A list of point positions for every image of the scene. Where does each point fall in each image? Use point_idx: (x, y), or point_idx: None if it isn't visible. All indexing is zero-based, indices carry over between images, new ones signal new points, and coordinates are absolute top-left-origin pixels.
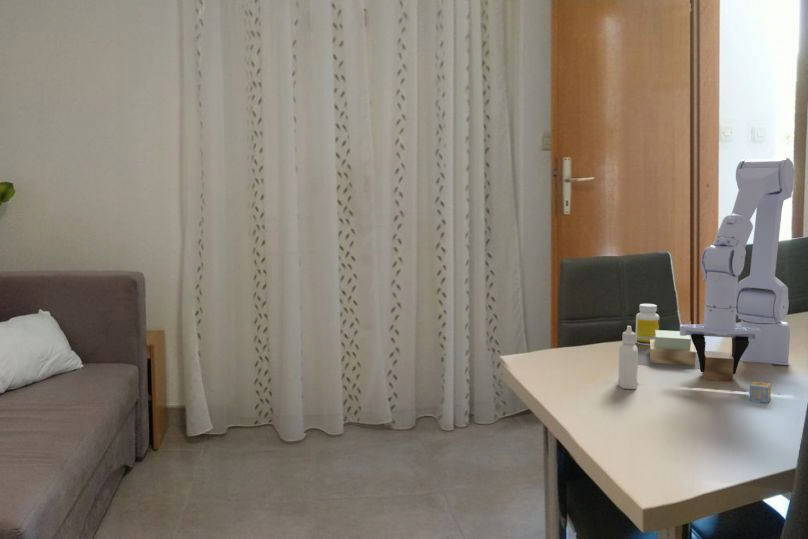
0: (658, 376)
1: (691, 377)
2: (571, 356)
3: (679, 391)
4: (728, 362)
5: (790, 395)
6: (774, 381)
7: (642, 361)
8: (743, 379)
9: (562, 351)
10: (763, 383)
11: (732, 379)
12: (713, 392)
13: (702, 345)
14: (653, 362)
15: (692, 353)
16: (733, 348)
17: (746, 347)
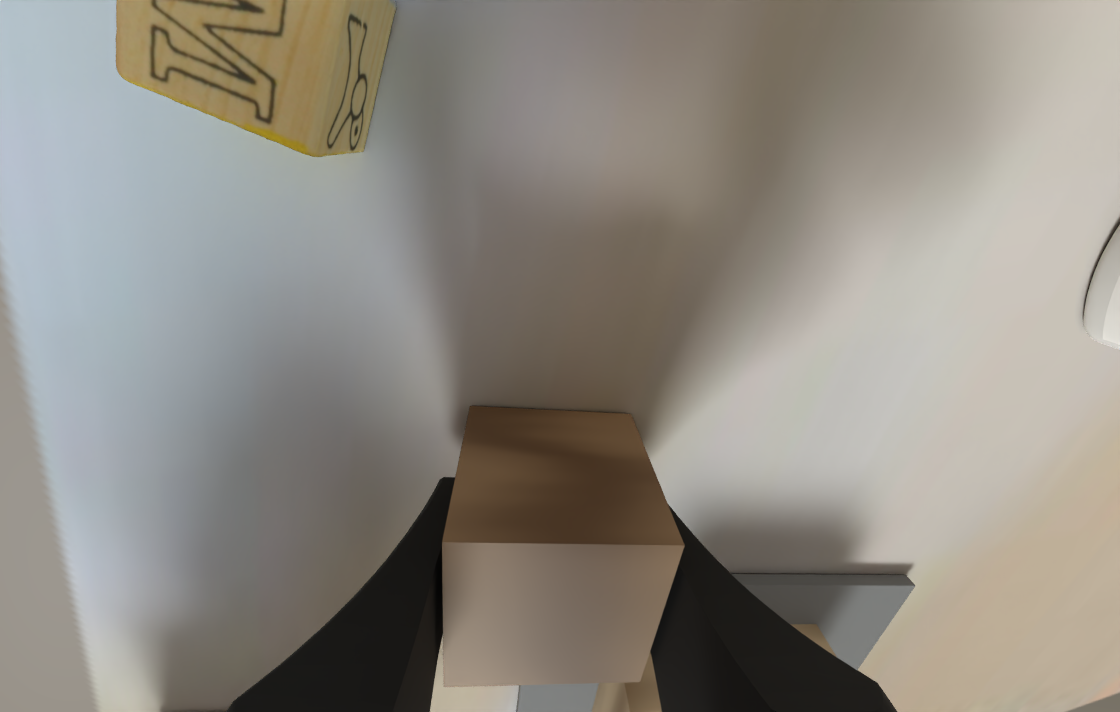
0: (856, 459)
1: (679, 476)
2: (1097, 640)
3: (873, 175)
4: (490, 513)
5: (77, 225)
6: (215, 499)
7: (847, 628)
8: (393, 498)
9: (1089, 683)
10: (194, 59)
11: (468, 420)
12: (638, 196)
13: (770, 665)
14: (804, 624)
15: (645, 698)
16: (420, 696)
17: (258, 685)
